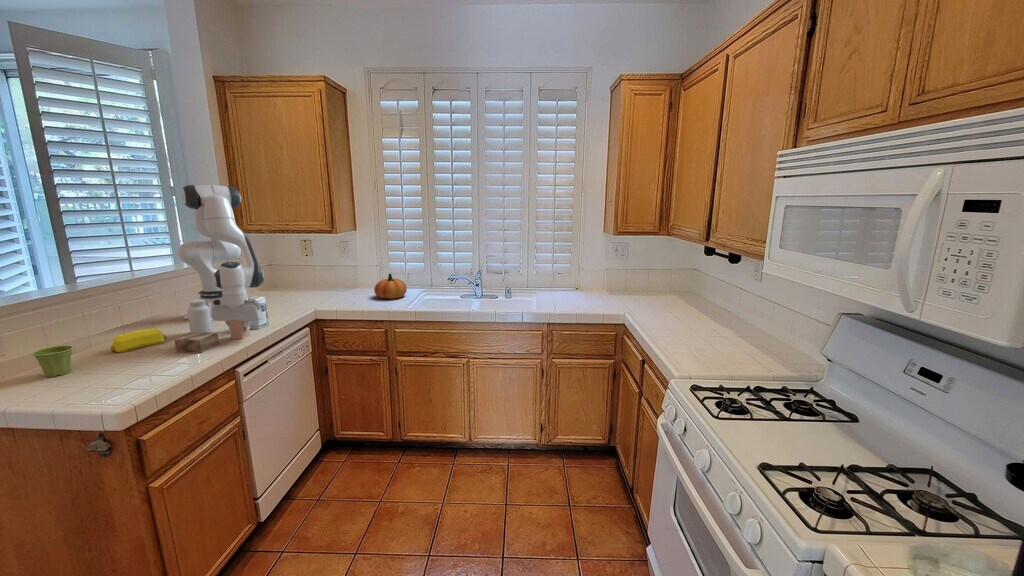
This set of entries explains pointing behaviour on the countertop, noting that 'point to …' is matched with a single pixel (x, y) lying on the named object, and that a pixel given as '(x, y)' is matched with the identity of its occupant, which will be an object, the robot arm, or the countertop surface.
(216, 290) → the robot arm
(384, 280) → the pumpkin
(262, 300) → the syrup box
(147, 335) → the yellow long rounded bar
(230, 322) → the terracotta block
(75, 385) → the countertop surface
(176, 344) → the pedestal
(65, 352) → the plant pot
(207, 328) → the pill bottle
